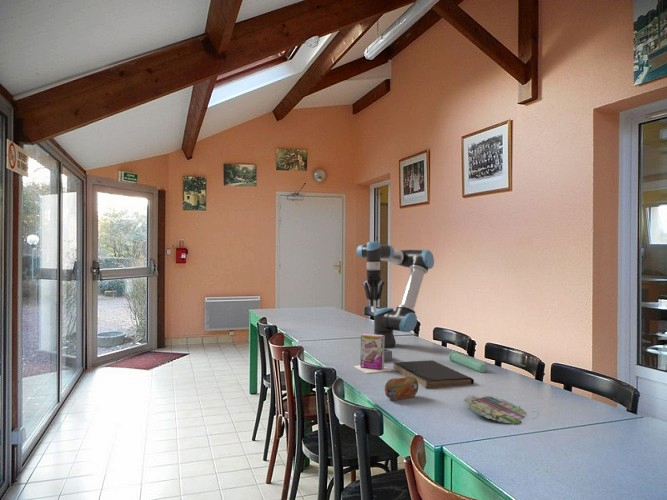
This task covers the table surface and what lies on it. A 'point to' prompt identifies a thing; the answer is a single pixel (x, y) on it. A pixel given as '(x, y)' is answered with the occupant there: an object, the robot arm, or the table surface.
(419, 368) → the dark brown book
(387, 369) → the paper sheet
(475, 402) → the city model
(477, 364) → the container
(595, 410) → the table surface
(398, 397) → the tin
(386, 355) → the button housing
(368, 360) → the candy bar box
